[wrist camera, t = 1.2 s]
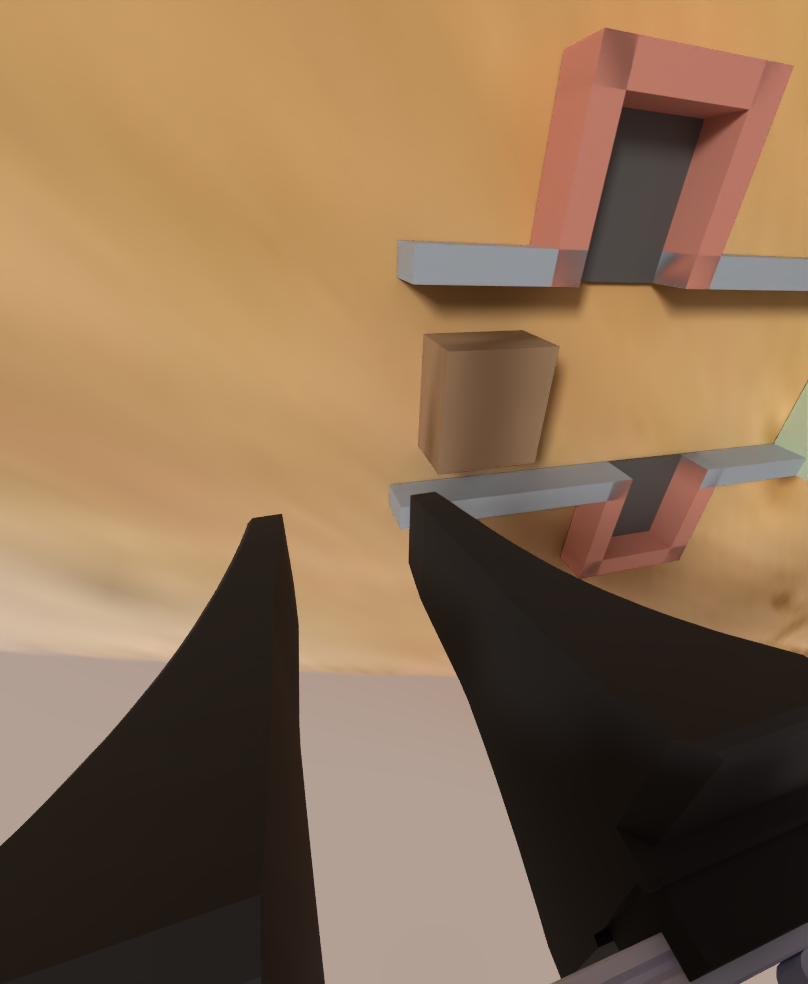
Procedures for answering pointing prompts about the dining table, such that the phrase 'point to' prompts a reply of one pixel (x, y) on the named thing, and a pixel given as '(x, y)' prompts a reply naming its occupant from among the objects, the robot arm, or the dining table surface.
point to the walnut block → (483, 398)
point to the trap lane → (633, 271)
